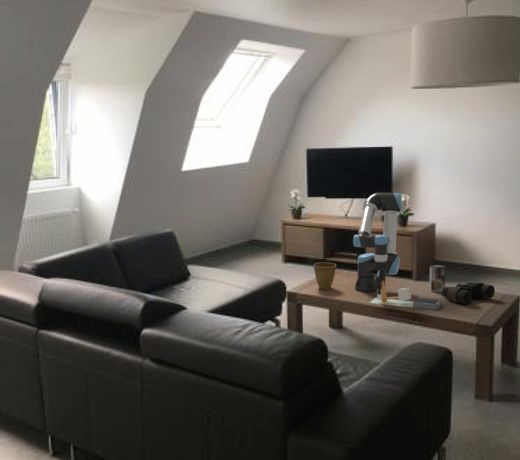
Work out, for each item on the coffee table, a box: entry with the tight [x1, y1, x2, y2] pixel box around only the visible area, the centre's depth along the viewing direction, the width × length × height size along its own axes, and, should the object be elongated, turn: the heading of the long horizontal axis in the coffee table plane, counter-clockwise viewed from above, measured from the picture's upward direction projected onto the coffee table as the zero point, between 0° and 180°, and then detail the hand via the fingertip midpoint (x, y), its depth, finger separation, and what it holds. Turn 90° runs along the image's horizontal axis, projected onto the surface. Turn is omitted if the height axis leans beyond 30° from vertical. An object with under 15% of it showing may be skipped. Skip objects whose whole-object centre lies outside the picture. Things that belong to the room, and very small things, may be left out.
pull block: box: [381, 281, 412, 301], centre depth 371 cm, size 18×6×12 cm, turn 64°
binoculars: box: [441, 281, 496, 305], centre depth 376 cm, size 29×20×10 cm
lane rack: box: [369, 297, 442, 311], centre depth 368 cm, size 40×12×4 cm, turn 63°
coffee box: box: [428, 264, 446, 293], centre depth 397 cm, size 9×6×16 cm
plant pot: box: [313, 261, 337, 290], centre depth 409 cm, size 15×15×16 cm
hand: (380, 298), depth 375 cm, fingers closed on pull block, 4 cm apart
